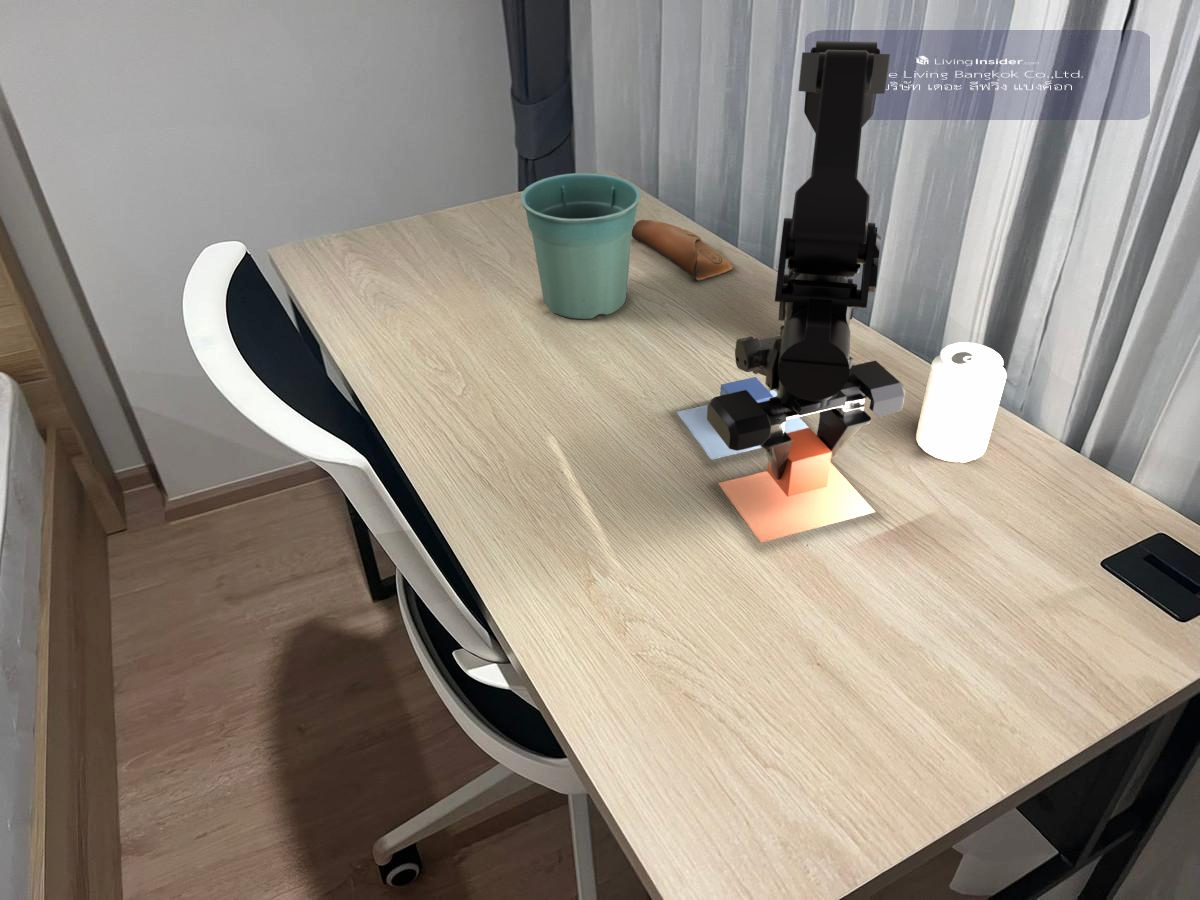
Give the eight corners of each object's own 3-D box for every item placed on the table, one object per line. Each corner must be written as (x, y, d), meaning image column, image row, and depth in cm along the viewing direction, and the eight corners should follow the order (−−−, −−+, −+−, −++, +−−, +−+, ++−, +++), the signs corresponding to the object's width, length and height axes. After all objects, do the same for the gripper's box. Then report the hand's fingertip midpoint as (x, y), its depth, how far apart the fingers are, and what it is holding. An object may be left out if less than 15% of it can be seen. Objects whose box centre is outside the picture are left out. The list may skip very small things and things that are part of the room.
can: (935, 420, 105) (956, 330, 98) (996, 446, 101) (1023, 354, 93) (901, 448, 101) (920, 357, 94) (963, 477, 97) (989, 383, 89)
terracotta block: (805, 461, 95) (809, 427, 92) (826, 486, 92) (832, 451, 89) (766, 471, 94) (770, 436, 91) (787, 497, 91) (791, 462, 88)
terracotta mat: (824, 460, 100) (825, 455, 99) (874, 515, 92) (875, 511, 92) (717, 487, 97) (717, 482, 96) (760, 547, 89) (760, 542, 89)
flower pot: (664, 305, 130) (665, 197, 120) (568, 340, 123) (561, 229, 113) (600, 265, 141) (596, 164, 131) (509, 296, 134) (498, 191, 124)
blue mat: (773, 393, 111) (774, 389, 110) (814, 438, 103) (815, 434, 103) (676, 415, 108) (676, 411, 107) (710, 463, 100) (711, 459, 100)
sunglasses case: (738, 266, 138) (722, 236, 133) (705, 297, 138) (688, 268, 133) (673, 227, 150) (656, 198, 146) (642, 255, 150) (624, 228, 145)
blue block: (753, 408, 107) (755, 376, 105) (770, 428, 104) (773, 396, 101) (718, 416, 106) (720, 384, 103) (735, 437, 103) (737, 404, 100)
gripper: (856, 284, 91) (837, 410, 101) (686, 318, 87) (682, 447, 96) (921, 335, 83) (894, 468, 92) (736, 376, 78) (727, 512, 88)
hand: (797, 471), depth 92 cm, fingers closed on terracotta block, 4 cm apart
